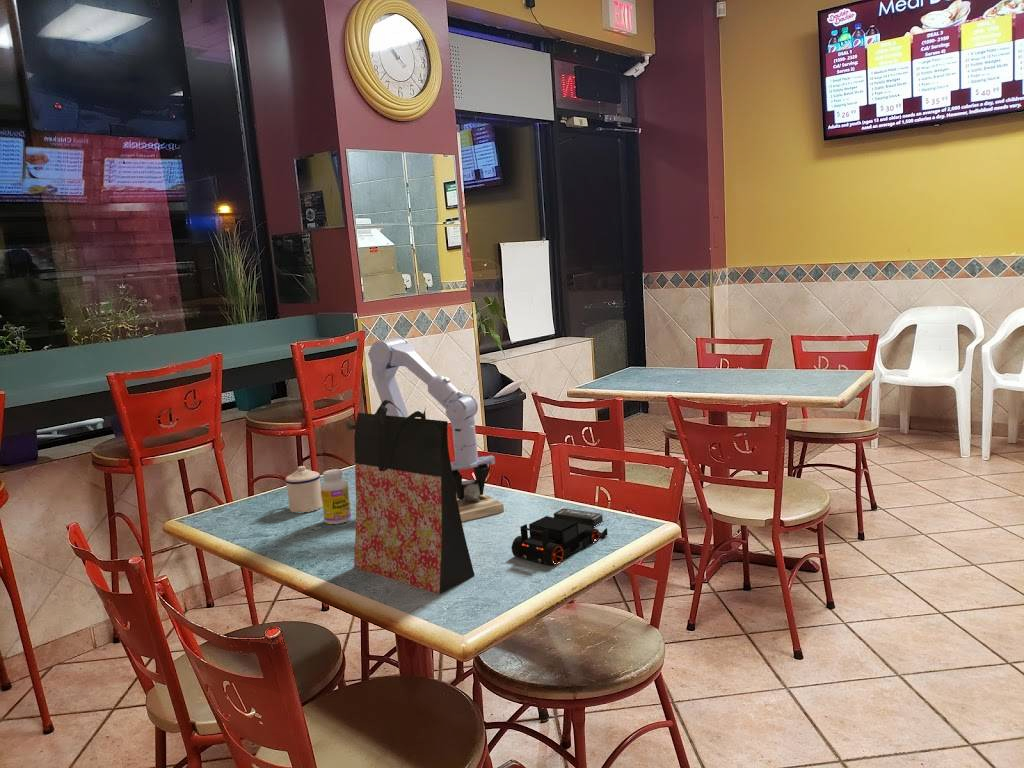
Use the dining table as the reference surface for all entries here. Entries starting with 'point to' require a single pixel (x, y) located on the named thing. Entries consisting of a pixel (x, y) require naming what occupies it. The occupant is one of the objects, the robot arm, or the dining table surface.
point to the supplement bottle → (335, 497)
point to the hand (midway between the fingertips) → (470, 496)
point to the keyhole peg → (470, 491)
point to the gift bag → (407, 502)
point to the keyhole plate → (479, 508)
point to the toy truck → (553, 539)
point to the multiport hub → (579, 516)
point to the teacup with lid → (304, 490)
